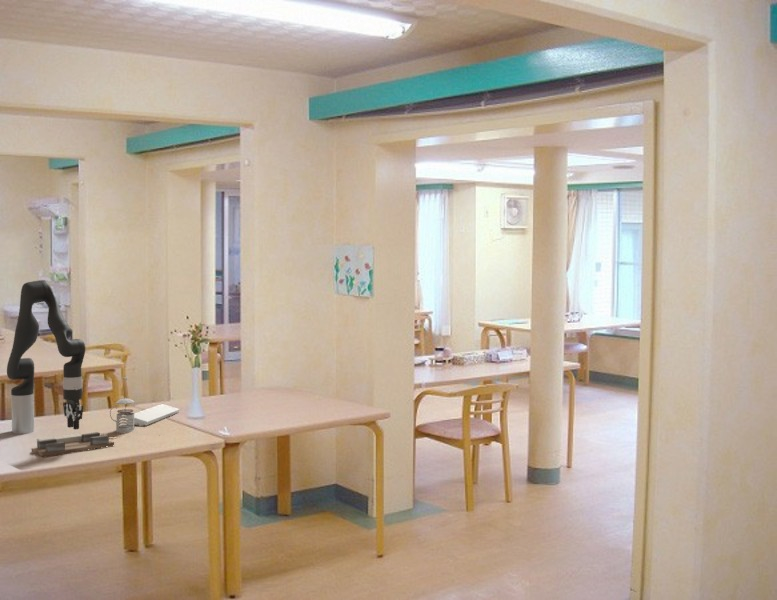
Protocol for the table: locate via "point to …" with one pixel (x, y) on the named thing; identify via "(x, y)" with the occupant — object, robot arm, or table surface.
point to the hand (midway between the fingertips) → (73, 428)
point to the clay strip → (65, 438)
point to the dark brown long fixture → (71, 445)
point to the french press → (124, 412)
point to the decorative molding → (153, 414)
